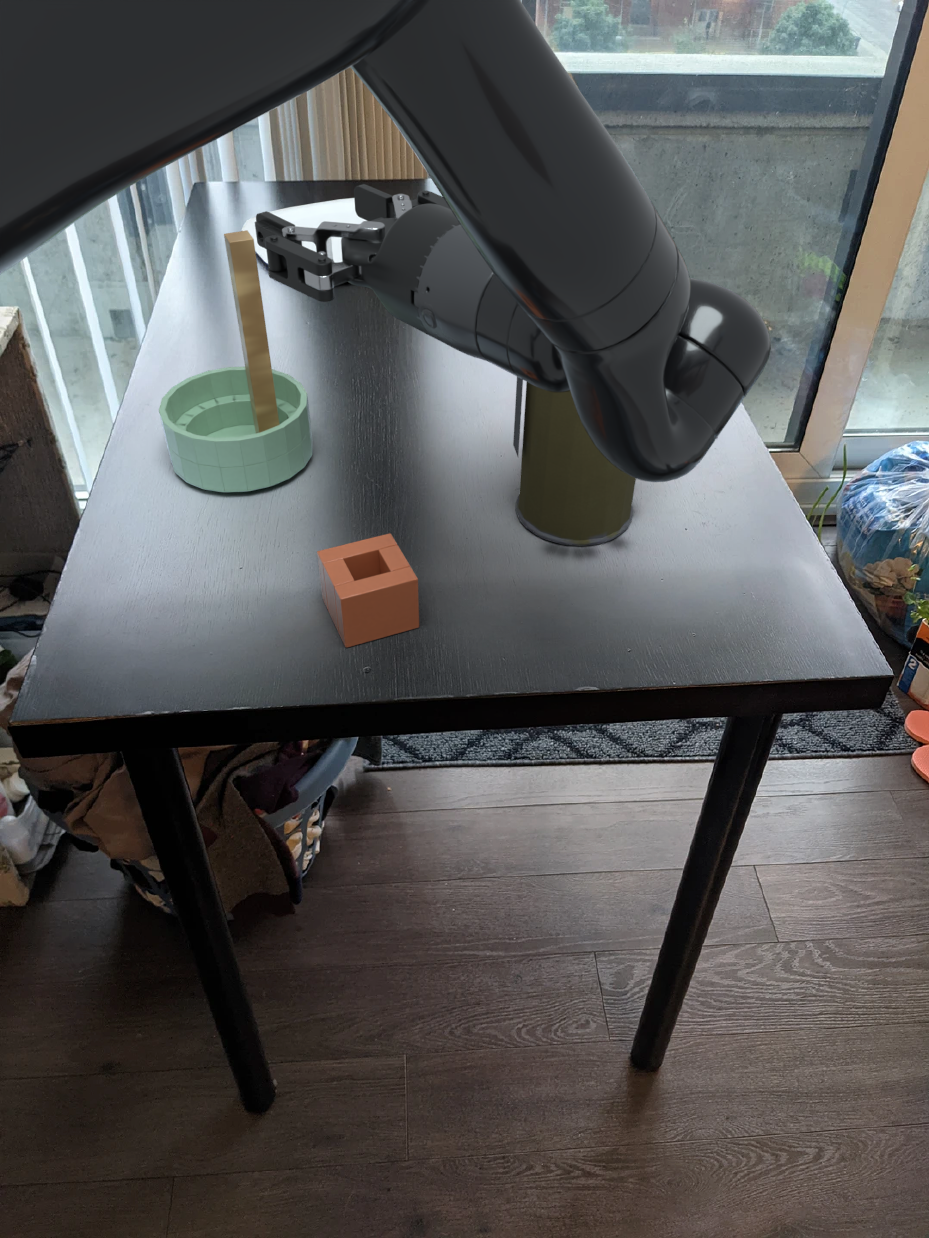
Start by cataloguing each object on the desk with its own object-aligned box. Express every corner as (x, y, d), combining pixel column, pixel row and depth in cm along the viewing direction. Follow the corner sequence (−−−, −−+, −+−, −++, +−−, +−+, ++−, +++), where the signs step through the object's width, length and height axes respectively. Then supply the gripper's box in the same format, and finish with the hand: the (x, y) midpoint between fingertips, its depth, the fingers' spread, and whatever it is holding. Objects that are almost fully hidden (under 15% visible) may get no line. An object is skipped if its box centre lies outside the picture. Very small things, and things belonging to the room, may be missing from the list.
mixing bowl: (187, 511, 84) (174, 453, 80) (161, 436, 93) (148, 381, 89) (330, 479, 88) (324, 422, 84) (292, 410, 97) (285, 356, 93)
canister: (614, 473, 89) (644, 263, 76) (647, 541, 82) (687, 322, 68) (500, 482, 88) (510, 270, 74) (523, 552, 80) (539, 331, 67)
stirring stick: (262, 453, 90) (229, 242, 76) (257, 443, 91) (223, 233, 78) (283, 449, 91) (253, 238, 77) (277, 438, 92) (247, 230, 78)
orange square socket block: (345, 648, 72) (340, 599, 68) (322, 599, 76) (316, 550, 72) (419, 627, 73) (418, 578, 70) (393, 581, 77) (390, 532, 74)
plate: (228, 228, 132) (226, 216, 131) (395, 201, 141) (394, 189, 140) (288, 299, 116) (286, 285, 115) (472, 263, 124) (472, 250, 123)
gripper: (547, 197, 61) (385, 137, 69) (374, 254, 53) (216, 179, 62) (539, 309, 66) (388, 240, 74) (379, 375, 58) (233, 290, 67)
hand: (310, 212), depth 68 cm, fingers open, 8 cm apart
